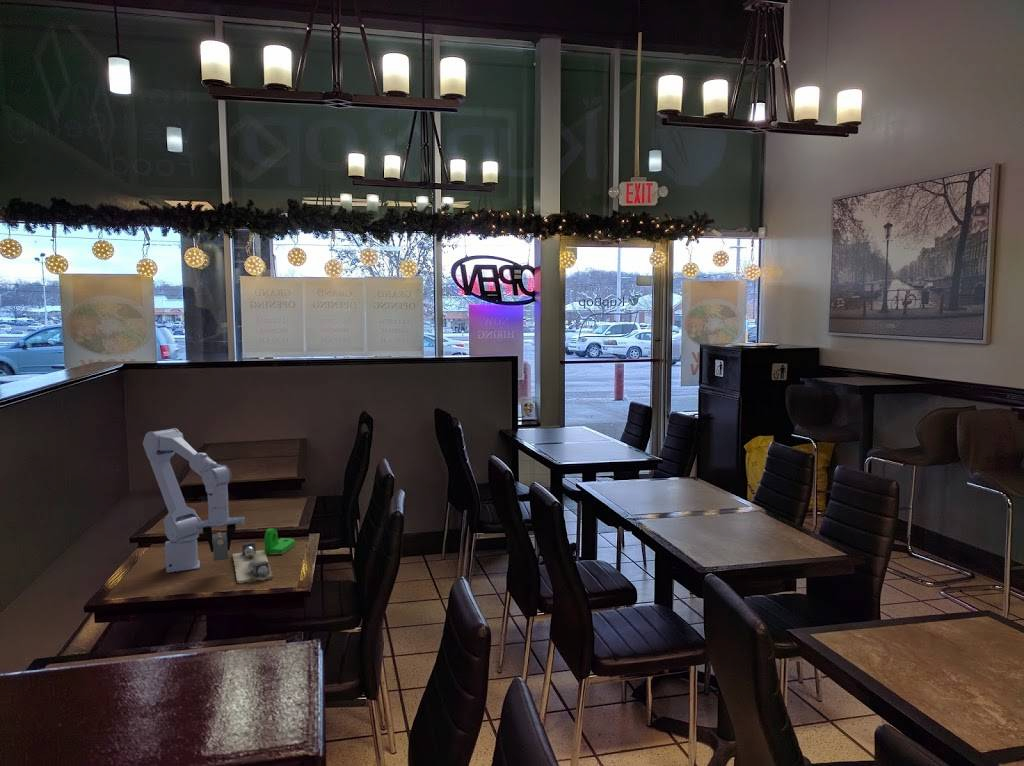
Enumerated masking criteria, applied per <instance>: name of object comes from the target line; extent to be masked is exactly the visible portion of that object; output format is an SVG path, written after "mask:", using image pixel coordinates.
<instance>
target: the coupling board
mask: <svg viewBox="0 0 1024 766" xmlns="http://www.w3.org/2000/svg"><path fill="white" fill-rule="evenodd" d="M232 561H234V562H233V567H234V566H235V567H234V573H235V572H236V573H235V578H236V583H239V584H245V583H244V582H247V583H253V582H252V581H254V582H257V581H256V580H261V581H266V579H268V580H272V579H274V575H273V572H272V570H271V566H270V565H269V574H268V576H266V577H261V576H260V577H254V576H253V572H252V571H251V570H249V568H248V566H249V563H250V562H252V561H256V562H258V563H260V562H264V561H266V562H268V563H269V560H268V556H267V554H266V553H265V549H261V550H256V554H255V556H254V557H253V558H251V559H248V558H246V556H245V555H243V554H242V552H238V553H232Z"/></svg>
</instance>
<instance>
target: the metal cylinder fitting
mask: <svg viewBox="0 0 1024 766" xmlns="http://www.w3.org/2000/svg"><path fill="white" fill-rule="evenodd" d="M256 551H257V550H256V541H249V542H247V541H246V542H241V553H242V554H243V555H245V556H246V558H248V559H251V558H253V557H254V556H255V554H256Z"/></svg>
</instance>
